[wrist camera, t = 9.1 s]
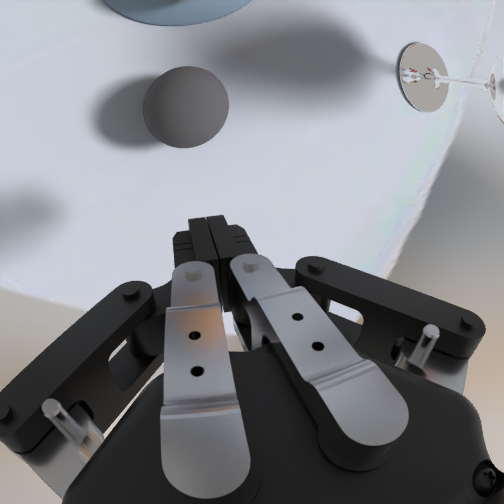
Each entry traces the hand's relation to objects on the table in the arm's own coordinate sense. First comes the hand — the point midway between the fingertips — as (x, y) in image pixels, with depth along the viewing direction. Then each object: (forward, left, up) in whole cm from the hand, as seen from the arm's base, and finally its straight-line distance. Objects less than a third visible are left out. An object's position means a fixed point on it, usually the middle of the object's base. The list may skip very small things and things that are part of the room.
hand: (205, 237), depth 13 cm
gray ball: (-5, 0, -8) cm, 10 cm away
